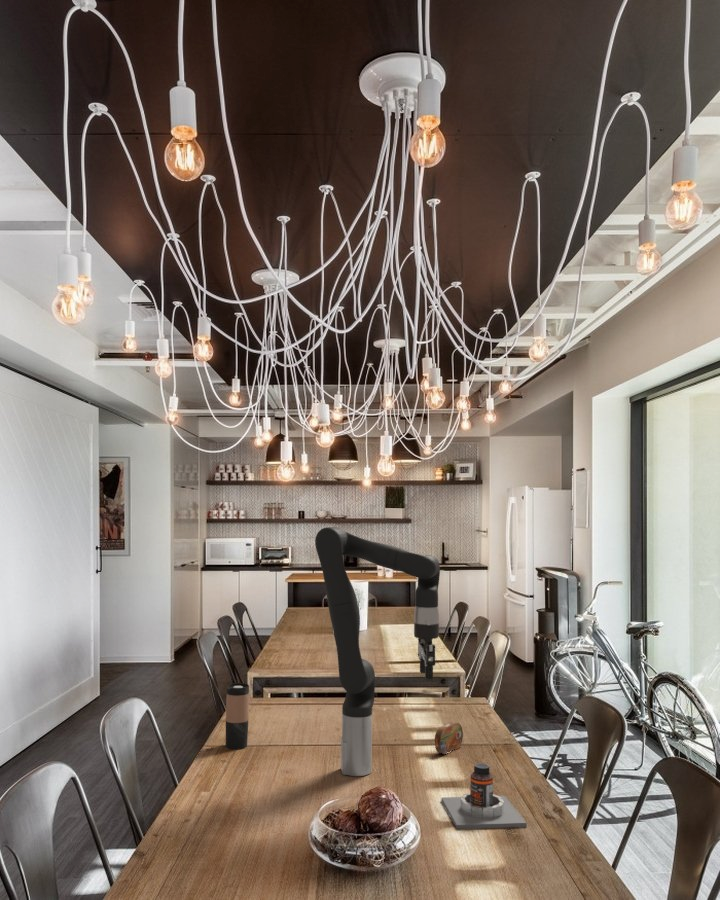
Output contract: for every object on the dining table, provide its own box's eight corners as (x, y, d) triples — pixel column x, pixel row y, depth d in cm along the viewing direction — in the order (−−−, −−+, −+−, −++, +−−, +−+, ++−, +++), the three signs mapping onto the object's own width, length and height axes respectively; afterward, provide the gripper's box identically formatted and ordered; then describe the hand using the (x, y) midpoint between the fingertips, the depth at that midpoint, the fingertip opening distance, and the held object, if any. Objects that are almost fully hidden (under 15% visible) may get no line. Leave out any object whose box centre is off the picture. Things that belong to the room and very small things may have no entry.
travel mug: (250, 743, 249) (251, 683, 251) (244, 750, 242) (246, 688, 244) (228, 742, 250) (230, 682, 252) (222, 749, 243) (223, 687, 244)
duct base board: (457, 829, 183) (457, 825, 183) (441, 801, 201) (441, 797, 201) (526, 826, 185) (526, 822, 185) (504, 799, 203) (504, 795, 203)
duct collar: (467, 818, 187) (467, 808, 187) (456, 802, 198) (456, 792, 198) (508, 817, 188) (508, 807, 188) (496, 801, 199) (496, 791, 199)
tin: (441, 757, 238) (441, 730, 238) (432, 755, 239) (432, 729, 240) (463, 746, 250) (463, 720, 250) (455, 744, 251) (455, 719, 252)
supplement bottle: (466, 809, 192) (465, 765, 193) (477, 803, 197) (477, 760, 198) (486, 815, 189) (485, 770, 190) (497, 808, 193) (496, 764, 194)
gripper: (410, 618, 228) (409, 671, 227) (418, 625, 214) (418, 681, 213) (433, 618, 229) (433, 670, 228) (443, 625, 215) (443, 681, 213)
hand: (426, 676), depth 220 cm, fingers open, 8 cm apart
